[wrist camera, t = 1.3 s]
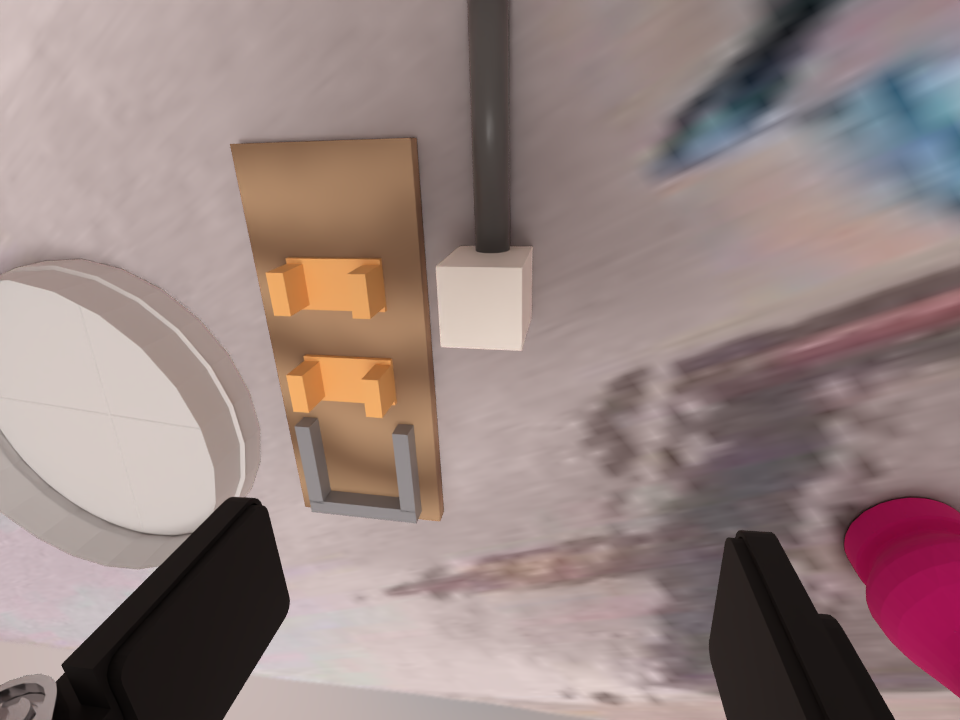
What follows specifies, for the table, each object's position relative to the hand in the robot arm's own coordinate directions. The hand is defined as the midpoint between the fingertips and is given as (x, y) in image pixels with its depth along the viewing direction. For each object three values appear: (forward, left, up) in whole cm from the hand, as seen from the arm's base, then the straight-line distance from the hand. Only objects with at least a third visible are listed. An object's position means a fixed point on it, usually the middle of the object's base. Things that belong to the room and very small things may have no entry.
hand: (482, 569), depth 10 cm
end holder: (+11, -12, -19) cm, 25 cm away
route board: (+4, -12, -20) cm, 23 cm away
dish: (+9, -31, -20) cm, 38 cm away
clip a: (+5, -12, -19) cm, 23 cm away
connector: (-7, -3, -20) cm, 21 cm away
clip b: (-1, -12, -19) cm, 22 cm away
